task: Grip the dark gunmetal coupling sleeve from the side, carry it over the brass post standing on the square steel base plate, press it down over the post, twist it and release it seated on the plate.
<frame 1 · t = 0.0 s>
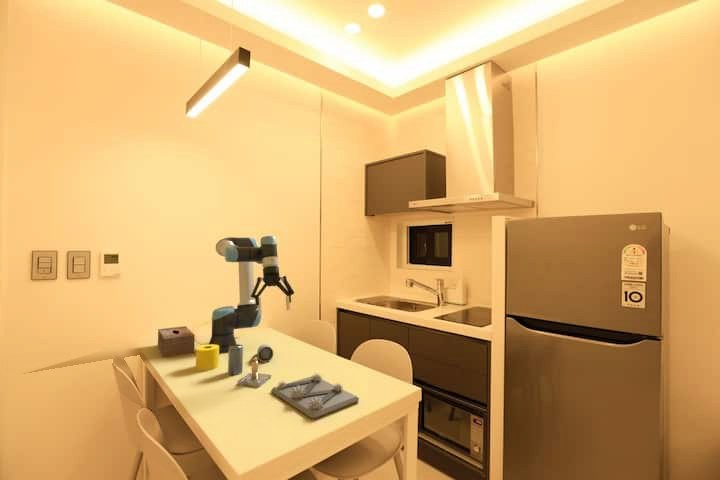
hand: (274, 311, 157), 28 cm above the table, tool tilted 20°, fingers open, 13 cm apart
ceramic mug: (262, 360, 172), on the table
tissue box cover: (175, 350, 189), on the table
tape roll: (207, 367, 161), on the table
coupling: (235, 372, 154), on the table
post: (254, 381, 144), on the table
decorative plate: (313, 398, 130), on the table
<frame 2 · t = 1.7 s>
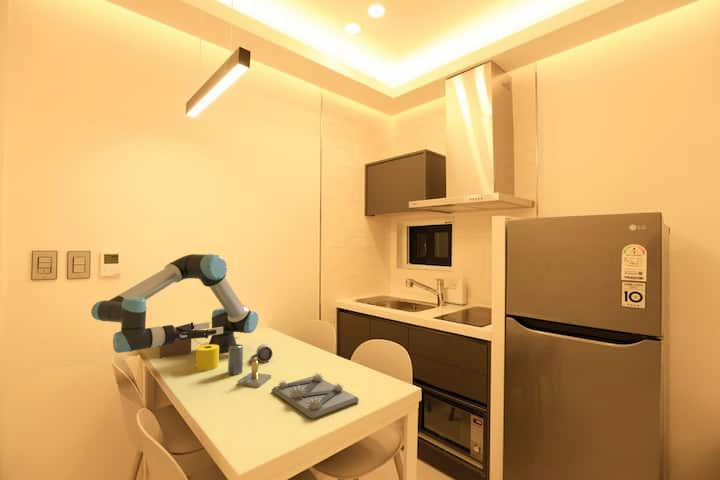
hand: (215, 327, 148), 22 cm above the table, tool horizontal, fingers open, 13 cm apart
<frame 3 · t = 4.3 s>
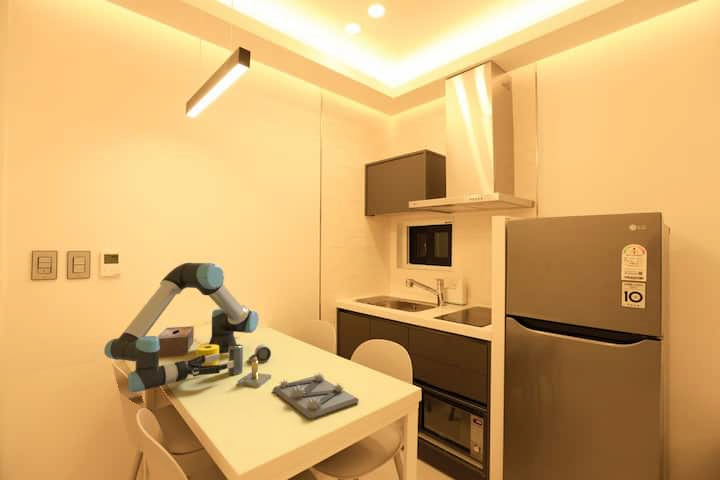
hand: (226, 360, 151), 7 cm above the table, tool horizontal, fingers open, 13 cm apart
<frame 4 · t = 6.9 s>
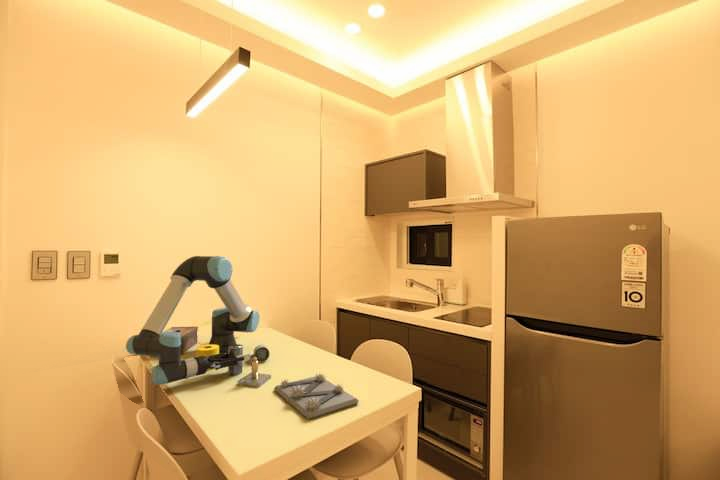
hand: (245, 354, 158), 7 cm above the table, tool horizontal, fingers closed on coupling, 6 cm apart
coupling: (235, 372, 154), on the table, touching gripper
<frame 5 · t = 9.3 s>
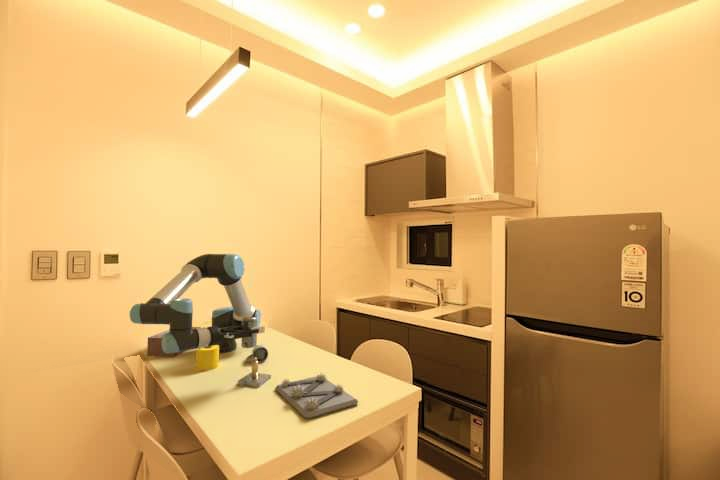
hand: (260, 327, 150), 22 cm above the table, tool horizontal, fingers closed on coupling, 6 cm apart
coupling: (248, 346, 146), point 15 cm above the table, touching gripper
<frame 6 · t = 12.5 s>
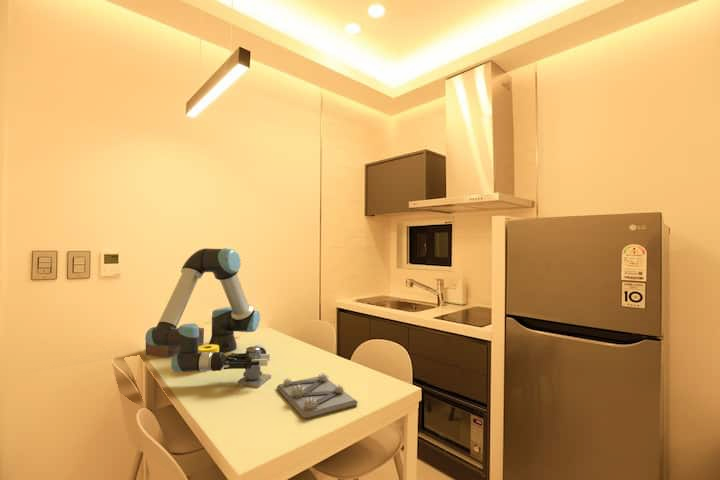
hand: (268, 359, 145), 9 cm above the table, tool horizontal, fingers closed on coupling, 6 cm apart
coupling: (252, 376, 144), point 2 cm above the table, touching gripper, post
when the fingers open (9 cm above the table, at t = 12.6 s): coupling stays where it is, resting on post.
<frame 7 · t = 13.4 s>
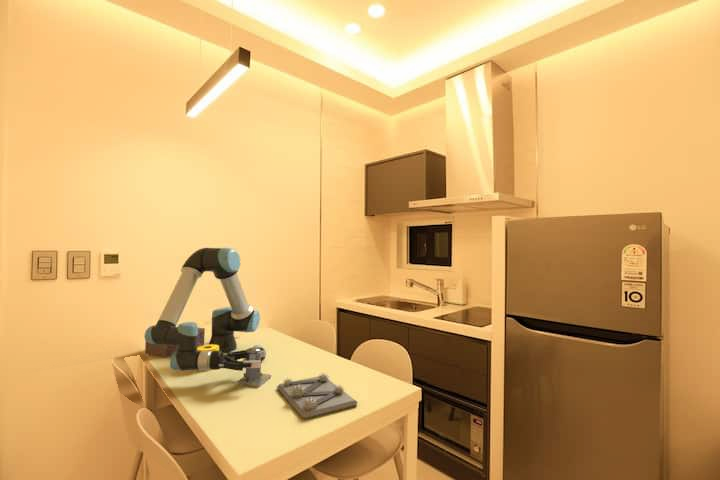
hand: (262, 358, 145), 9 cm above the table, tool horizontal, fingers open, 13 cm apart
coupling: (253, 377, 144), point 1 cm above the table, touching post
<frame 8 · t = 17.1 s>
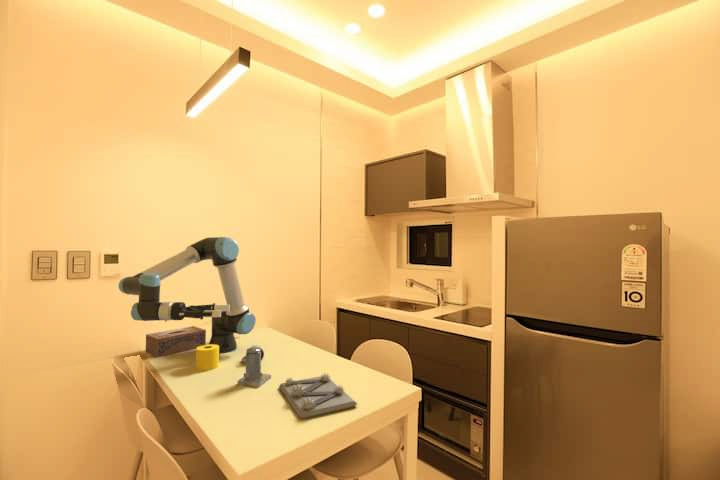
hand: (225, 310, 145), 30 cm above the table, tool horizontal, fingers open, 13 cm apart
at the end: coupling 0.7 cm off-centre on the post, point 1.5 cm above the post's base; coupling tilted 0°; the gripper is holding nothing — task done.
